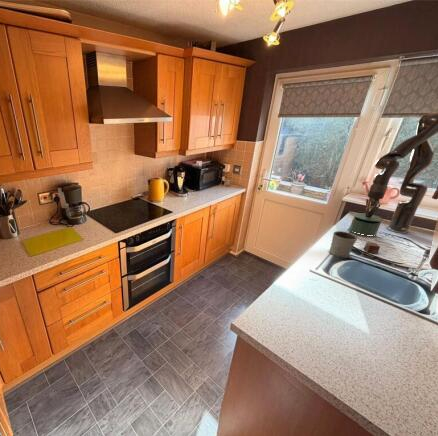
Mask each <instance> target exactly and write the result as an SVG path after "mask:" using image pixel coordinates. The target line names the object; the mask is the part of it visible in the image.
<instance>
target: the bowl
mask: <svg viewBox="0 0 438 436" xmlns="http://www.w3.org/2000/svg"><path fill="white" fill-rule="evenodd" d="M369 209H370V208H368V210H367V209H366V210H367V213H366V212H365V213H366V215H365V213H362V212H355V213H353V217H356V218H359V219H362V220H366V221H373V222H383V221H384V218H382V217H381V216H378V215H375V214H373V215H372V217H368V216H367V215H368V212H369Z"/></svg>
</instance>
